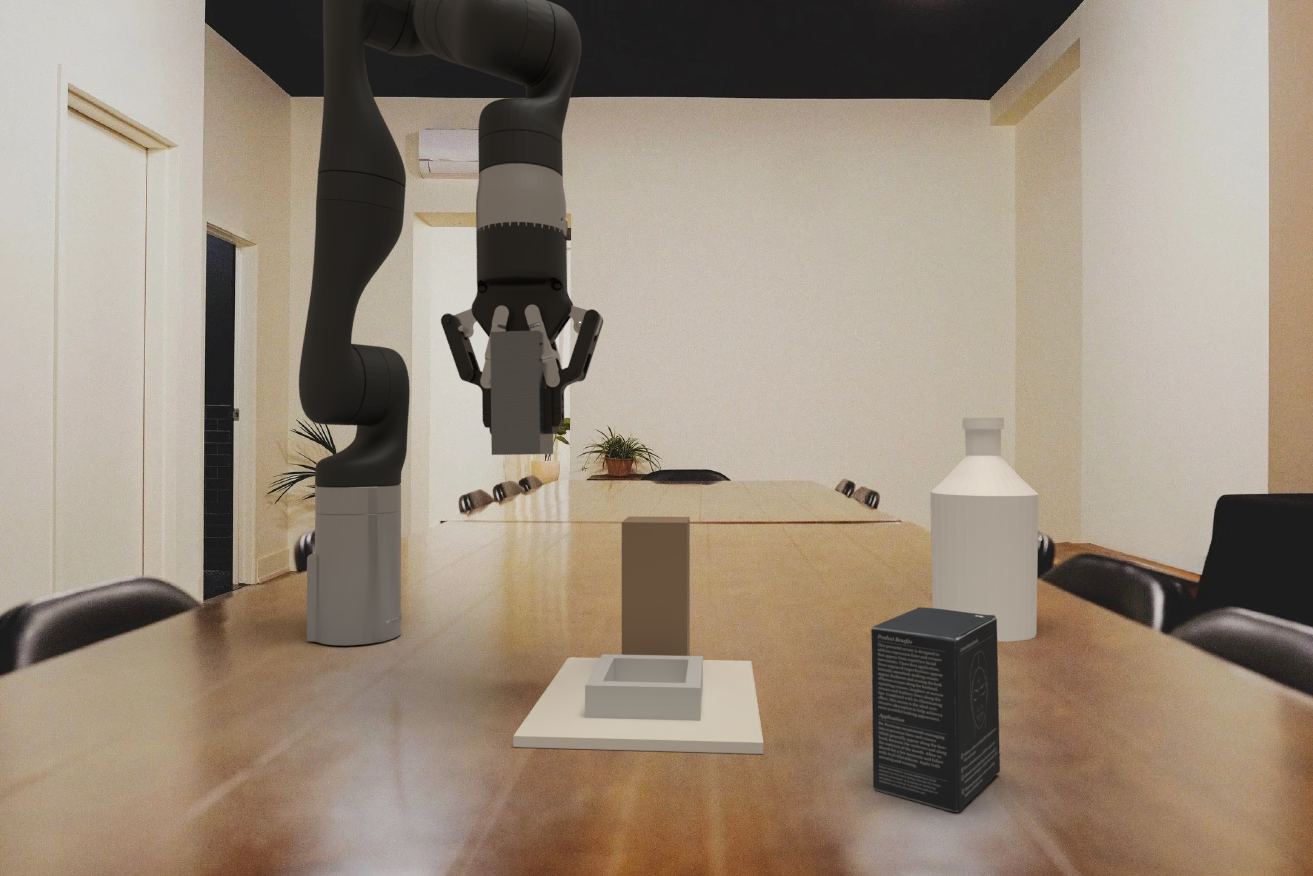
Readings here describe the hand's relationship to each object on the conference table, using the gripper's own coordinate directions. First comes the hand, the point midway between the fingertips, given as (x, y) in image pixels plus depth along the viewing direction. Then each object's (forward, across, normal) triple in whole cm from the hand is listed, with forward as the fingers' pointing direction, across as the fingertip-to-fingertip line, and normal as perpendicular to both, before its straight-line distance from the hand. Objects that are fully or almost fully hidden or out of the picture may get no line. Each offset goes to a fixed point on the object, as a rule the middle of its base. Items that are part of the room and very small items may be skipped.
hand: (524, 433), depth 69 cm
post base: (+23, +10, +2) cm, 25 cm away
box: (+24, +30, -13) cm, 40 cm away
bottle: (+23, +47, +33) cm, 62 cm away
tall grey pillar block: (+2, 0, 0) cm, 2 cm away
